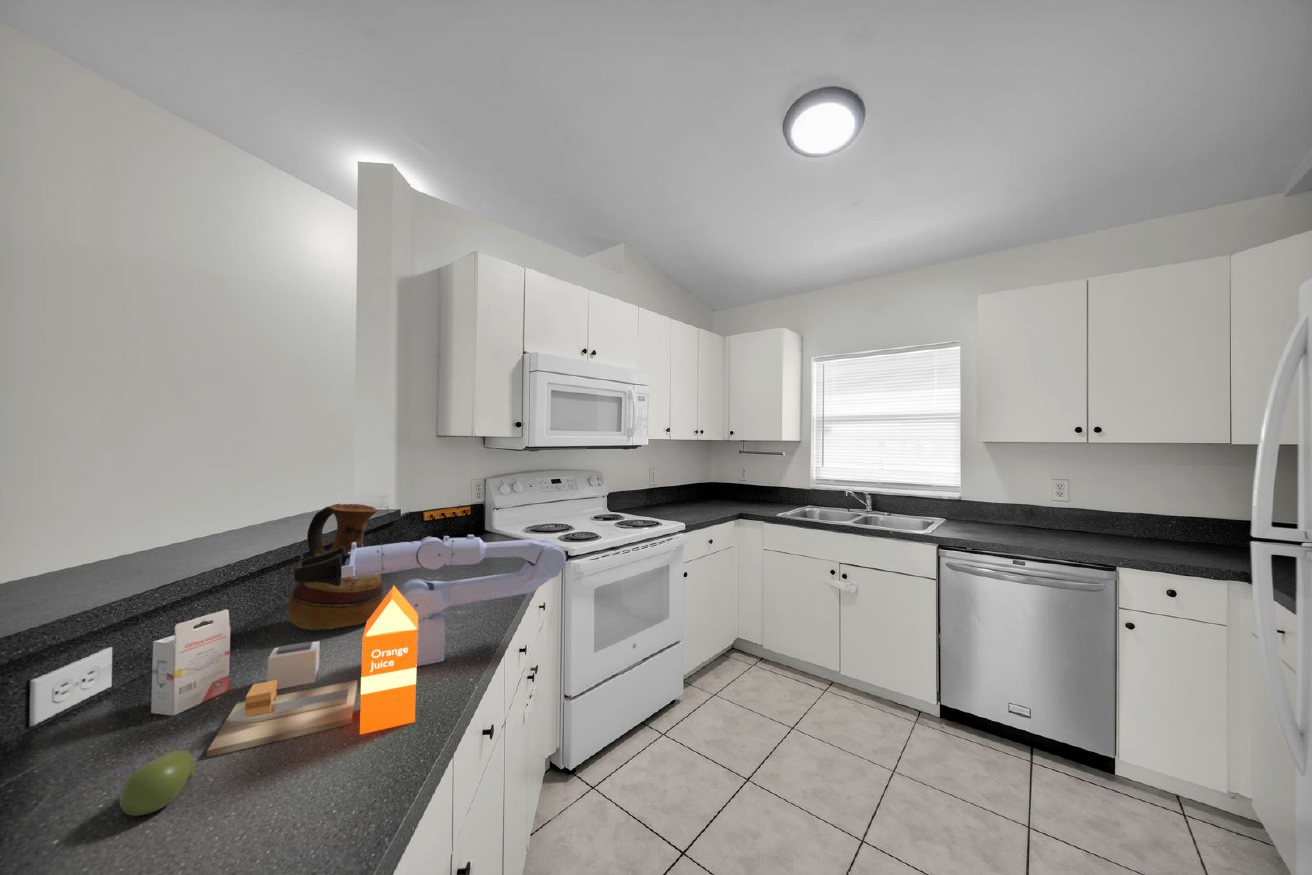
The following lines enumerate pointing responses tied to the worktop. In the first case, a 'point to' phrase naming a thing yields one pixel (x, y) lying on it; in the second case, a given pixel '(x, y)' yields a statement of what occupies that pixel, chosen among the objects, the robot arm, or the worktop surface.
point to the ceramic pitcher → (354, 596)
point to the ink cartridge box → (191, 664)
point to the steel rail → (292, 707)
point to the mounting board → (285, 722)
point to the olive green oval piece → (156, 783)
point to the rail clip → (260, 698)
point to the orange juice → (389, 665)
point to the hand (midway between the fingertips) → (298, 570)
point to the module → (294, 664)
